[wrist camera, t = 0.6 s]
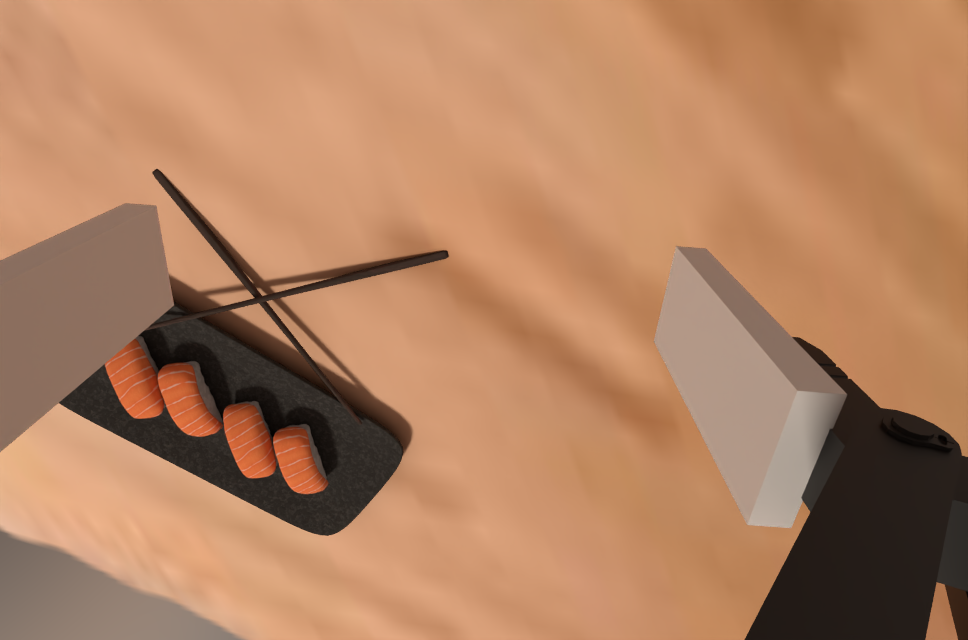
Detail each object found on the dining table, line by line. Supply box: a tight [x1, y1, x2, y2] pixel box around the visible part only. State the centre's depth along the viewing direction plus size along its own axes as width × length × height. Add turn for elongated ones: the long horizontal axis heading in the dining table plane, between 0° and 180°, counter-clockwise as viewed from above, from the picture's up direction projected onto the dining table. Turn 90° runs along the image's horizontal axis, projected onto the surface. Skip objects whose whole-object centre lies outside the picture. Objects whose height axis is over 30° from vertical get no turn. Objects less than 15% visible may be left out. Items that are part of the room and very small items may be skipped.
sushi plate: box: [59, 169, 448, 536], centre depth 46 cm, size 29×30×4 cm
